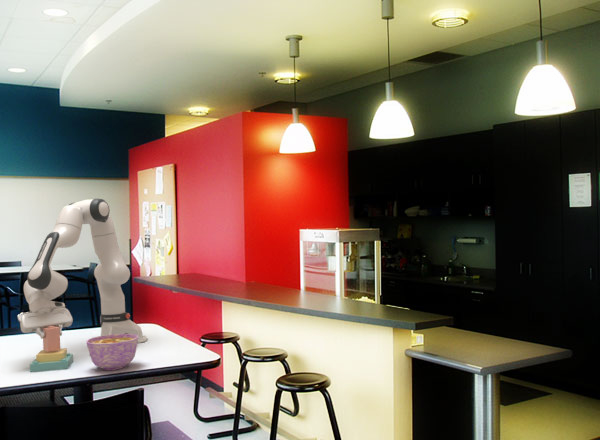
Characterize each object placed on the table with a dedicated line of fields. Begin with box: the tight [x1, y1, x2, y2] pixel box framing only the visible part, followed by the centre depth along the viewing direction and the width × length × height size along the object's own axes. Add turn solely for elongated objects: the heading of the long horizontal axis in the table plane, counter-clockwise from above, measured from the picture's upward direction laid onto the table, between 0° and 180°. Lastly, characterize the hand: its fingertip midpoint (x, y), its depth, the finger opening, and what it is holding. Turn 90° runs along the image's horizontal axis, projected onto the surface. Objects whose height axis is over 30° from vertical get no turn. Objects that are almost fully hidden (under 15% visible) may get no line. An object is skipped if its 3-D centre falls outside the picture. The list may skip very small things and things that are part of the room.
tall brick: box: [42, 326, 61, 352], centre depth 244 cm, size 5×5×10 cm
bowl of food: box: [86, 334, 139, 371], centre depth 238 cm, size 20×20×12 cm
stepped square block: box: [29, 348, 74, 373], centre depth 244 cm, size 14×14×6 cm
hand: (51, 336), depth 244 cm, fingers open, 5 cm apart
